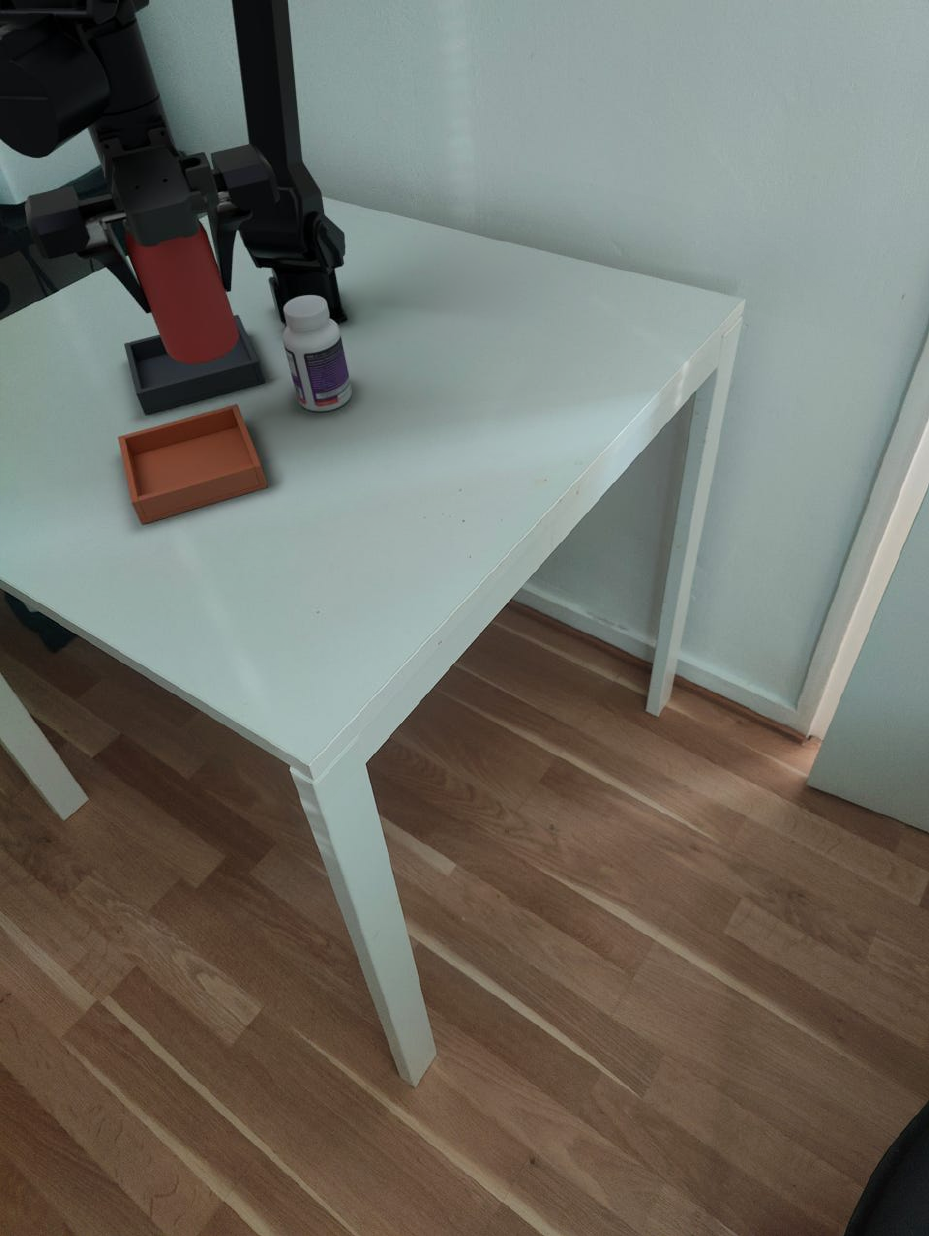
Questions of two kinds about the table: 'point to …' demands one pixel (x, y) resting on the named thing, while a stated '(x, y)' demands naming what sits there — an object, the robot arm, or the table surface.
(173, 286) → the beer can
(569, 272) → the table surface
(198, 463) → the tray
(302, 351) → the pill bottle
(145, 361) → the can tray
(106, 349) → the table surface
